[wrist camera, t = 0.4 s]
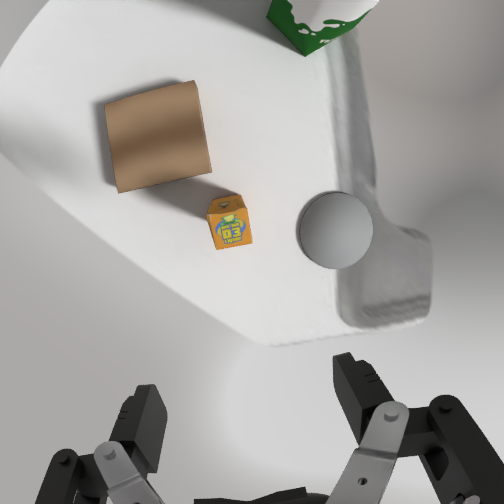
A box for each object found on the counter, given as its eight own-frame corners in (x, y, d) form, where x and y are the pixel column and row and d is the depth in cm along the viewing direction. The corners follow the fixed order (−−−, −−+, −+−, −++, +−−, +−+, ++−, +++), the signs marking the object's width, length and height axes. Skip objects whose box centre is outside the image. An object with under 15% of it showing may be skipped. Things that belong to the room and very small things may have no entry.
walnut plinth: (114, 109, 30) (104, 105, 27) (197, 87, 30) (194, 80, 27) (127, 191, 32) (118, 193, 29) (212, 172, 33) (210, 172, 30)
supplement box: (218, 229, 34) (212, 252, 24) (212, 199, 33) (203, 209, 24) (247, 223, 34) (253, 244, 25) (241, 193, 33) (245, 201, 24)
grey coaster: (294, 199, 34) (295, 199, 33) (367, 188, 34) (368, 188, 33) (305, 274, 36) (306, 275, 36) (373, 260, 36) (374, 261, 36)
